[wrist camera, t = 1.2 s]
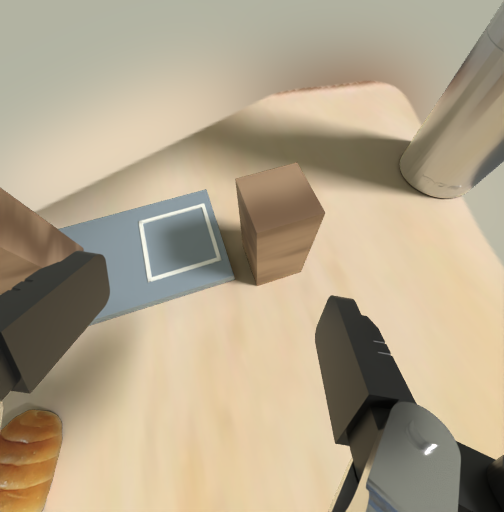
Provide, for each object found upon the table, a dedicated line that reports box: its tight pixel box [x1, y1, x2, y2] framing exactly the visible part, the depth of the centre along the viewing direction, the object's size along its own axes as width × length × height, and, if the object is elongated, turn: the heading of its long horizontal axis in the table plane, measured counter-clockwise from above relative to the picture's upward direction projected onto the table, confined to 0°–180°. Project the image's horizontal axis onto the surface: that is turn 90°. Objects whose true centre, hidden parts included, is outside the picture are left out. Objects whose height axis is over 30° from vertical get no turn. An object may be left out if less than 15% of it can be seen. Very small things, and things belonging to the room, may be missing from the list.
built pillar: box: [0, 188, 84, 294], centre depth 21 cm, size 5×5×11 cm
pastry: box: [0, 410, 62, 512], centre depth 19 cm, size 9×7×4 cm
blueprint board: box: [58, 190, 235, 326], centre depth 28 cm, size 12×22×1 cm, turn 108°
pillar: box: [235, 162, 325, 286], centre depth 23 cm, size 5×5×11 cm
